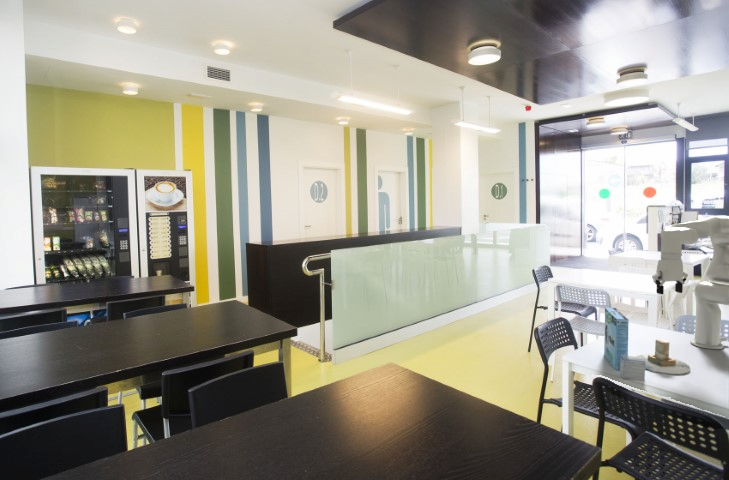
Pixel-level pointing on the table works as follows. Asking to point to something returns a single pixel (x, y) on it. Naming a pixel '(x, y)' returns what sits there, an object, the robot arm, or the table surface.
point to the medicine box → (632, 368)
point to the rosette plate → (665, 365)
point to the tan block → (662, 350)
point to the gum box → (615, 336)
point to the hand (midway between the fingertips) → (669, 293)
